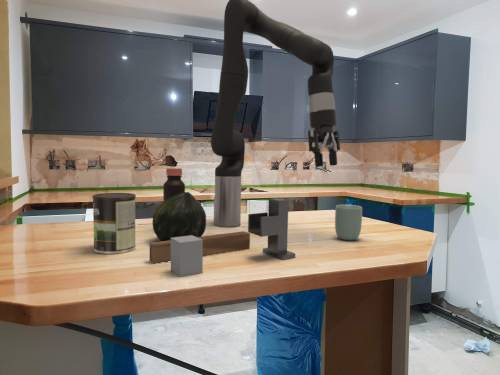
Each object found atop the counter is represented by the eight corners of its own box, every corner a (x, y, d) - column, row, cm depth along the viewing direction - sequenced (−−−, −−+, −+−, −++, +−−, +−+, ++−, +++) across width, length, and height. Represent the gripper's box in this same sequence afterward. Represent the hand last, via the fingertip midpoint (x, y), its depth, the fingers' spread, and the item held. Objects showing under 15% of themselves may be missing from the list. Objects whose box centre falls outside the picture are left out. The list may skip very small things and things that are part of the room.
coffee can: (93, 256, 88) (92, 197, 86) (93, 246, 97) (92, 193, 96) (138, 252, 92) (137, 196, 90) (134, 242, 101) (133, 192, 100)
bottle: (183, 227, 122) (183, 168, 121) (186, 232, 116) (186, 169, 114) (162, 228, 120) (162, 168, 119) (164, 233, 114) (164, 168, 112)
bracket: (244, 255, 91) (245, 199, 89) (275, 250, 96) (276, 197, 95) (264, 263, 84) (265, 203, 83) (295, 257, 89) (297, 200, 88)
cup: (362, 242, 106) (363, 208, 105) (334, 241, 107) (335, 207, 106) (359, 237, 113) (361, 205, 112) (333, 235, 115) (335, 204, 114)
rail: (149, 262, 85) (149, 243, 84) (243, 247, 99) (243, 231, 99) (154, 265, 82) (154, 245, 82) (249, 250, 97) (249, 233, 96)
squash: (149, 217, 110) (154, 183, 100) (197, 217, 116) (207, 184, 106) (152, 257, 101) (159, 224, 91) (205, 255, 107) (216, 223, 97)
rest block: (170, 270, 78) (170, 237, 77) (192, 266, 81) (192, 235, 80) (180, 276, 74) (180, 242, 73) (202, 272, 77) (202, 239, 76)
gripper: (322, 114, 115) (327, 166, 115) (297, 111, 104) (302, 168, 104) (344, 110, 110) (349, 164, 110) (321, 106, 99) (326, 165, 100)
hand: (326, 166), depth 107 cm, fingers open, 8 cm apart
